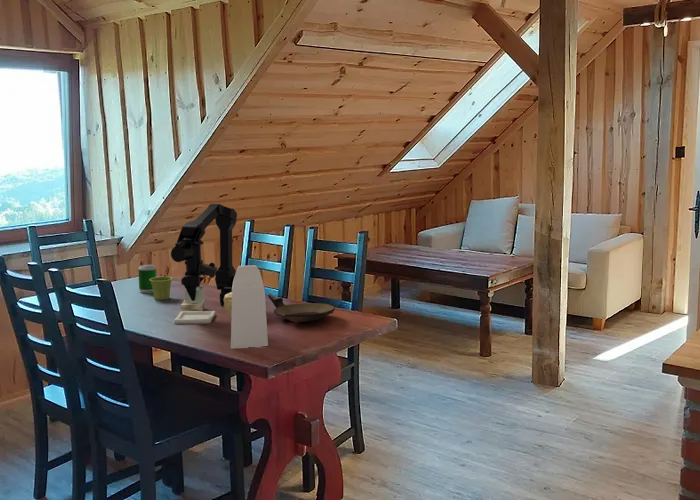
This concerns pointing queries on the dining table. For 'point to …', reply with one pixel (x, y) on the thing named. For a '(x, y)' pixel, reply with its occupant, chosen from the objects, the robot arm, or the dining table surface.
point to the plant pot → (161, 287)
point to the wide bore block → (193, 306)
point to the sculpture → (228, 303)
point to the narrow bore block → (198, 298)
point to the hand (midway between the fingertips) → (194, 298)
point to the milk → (248, 309)
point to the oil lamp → (301, 310)
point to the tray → (194, 317)
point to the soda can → (146, 277)
